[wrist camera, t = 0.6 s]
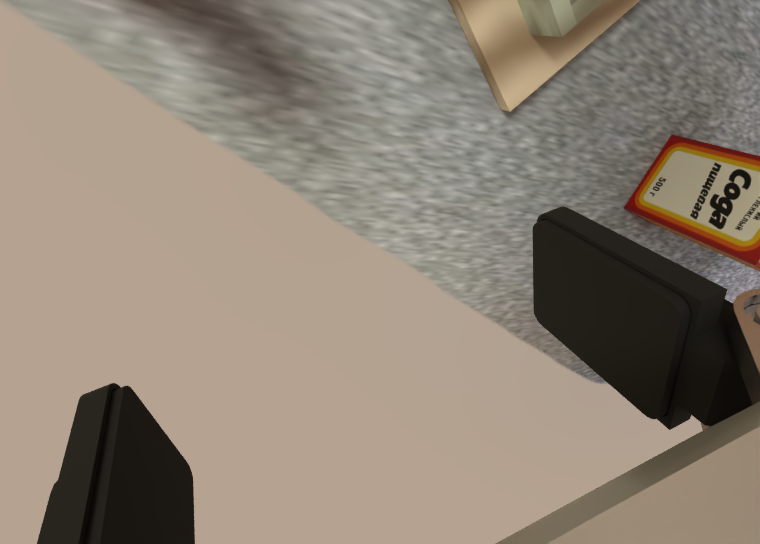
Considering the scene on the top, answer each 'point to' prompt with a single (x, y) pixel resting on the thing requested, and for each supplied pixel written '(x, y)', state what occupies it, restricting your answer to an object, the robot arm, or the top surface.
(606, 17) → the socket board
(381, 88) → the top surface
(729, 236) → the baking soda box
